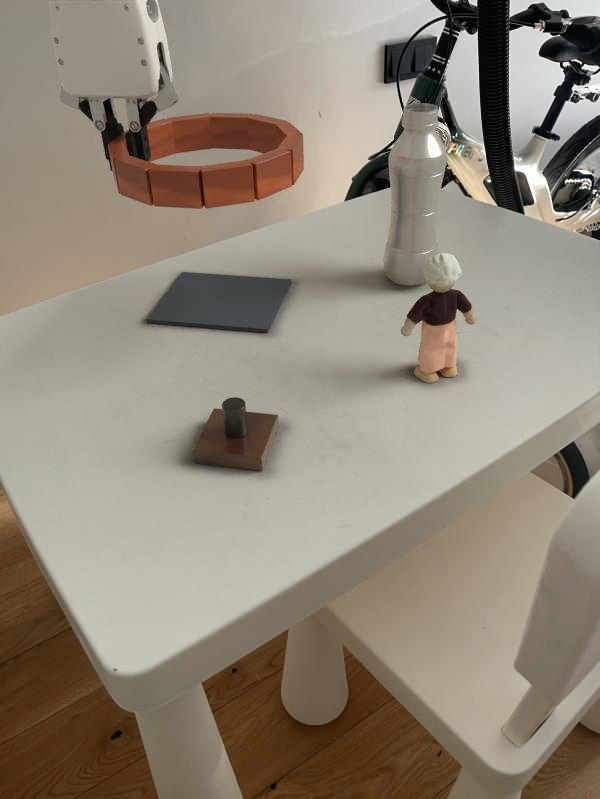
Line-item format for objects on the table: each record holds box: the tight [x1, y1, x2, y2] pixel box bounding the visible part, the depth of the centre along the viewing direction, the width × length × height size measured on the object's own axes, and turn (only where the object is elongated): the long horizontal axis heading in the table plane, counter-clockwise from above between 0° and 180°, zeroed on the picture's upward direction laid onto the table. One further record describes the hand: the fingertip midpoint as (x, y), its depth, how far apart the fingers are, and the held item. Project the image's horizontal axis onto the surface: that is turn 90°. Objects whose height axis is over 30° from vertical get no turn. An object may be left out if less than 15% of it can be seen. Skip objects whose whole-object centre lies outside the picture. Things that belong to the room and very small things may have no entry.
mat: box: [146, 271, 292, 334], centre depth 86 cm, size 14×12×1 cm
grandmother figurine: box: [400, 252, 477, 384], centre depth 69 cm, size 8×4×13 cm, turn 121°
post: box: [192, 396, 280, 472], centre depth 63 cm, size 6×6×4 cm
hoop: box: [108, 112, 305, 210], centre depth 73 cm, size 19×19×3 cm
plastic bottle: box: [382, 102, 448, 286], centre depth 83 cm, size 6×7×20 cm
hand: (130, 166), depth 75 cm, fingers closed on hoop, 1 cm apart
